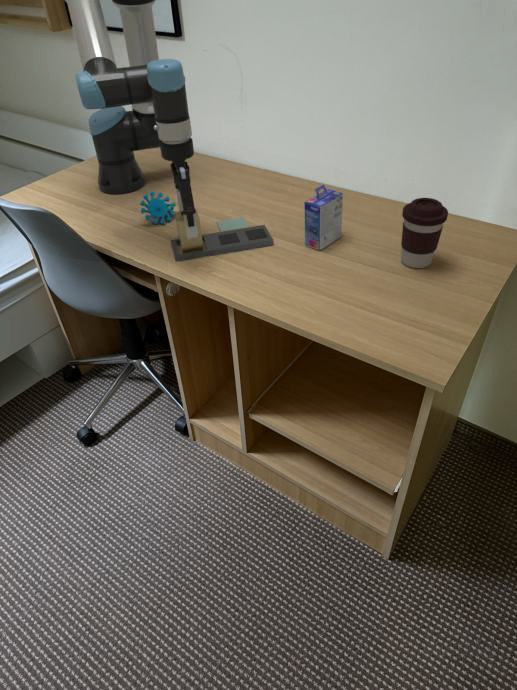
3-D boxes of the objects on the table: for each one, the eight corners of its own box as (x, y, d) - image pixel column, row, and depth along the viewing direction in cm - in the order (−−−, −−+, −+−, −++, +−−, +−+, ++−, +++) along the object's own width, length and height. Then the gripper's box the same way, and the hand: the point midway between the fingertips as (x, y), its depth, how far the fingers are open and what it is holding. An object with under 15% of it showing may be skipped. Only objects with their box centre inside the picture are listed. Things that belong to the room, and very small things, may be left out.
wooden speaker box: (180, 246, 132) (174, 211, 126) (200, 243, 133) (196, 207, 126) (183, 256, 128) (177, 220, 121) (204, 253, 129) (199, 217, 122)
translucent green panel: (216, 222, 142) (216, 221, 141) (243, 218, 143) (243, 217, 143) (221, 235, 136) (221, 234, 135) (250, 231, 137) (250, 229, 137)
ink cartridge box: (325, 230, 135) (327, 179, 126) (342, 236, 132) (345, 184, 123) (302, 245, 130) (303, 192, 120) (319, 251, 127) (322, 197, 118)
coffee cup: (429, 276, 116) (442, 217, 106) (389, 265, 120) (397, 208, 111) (442, 256, 122) (455, 199, 113) (403, 247, 127) (412, 191, 117)
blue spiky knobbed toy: (147, 225, 139) (136, 192, 139) (142, 233, 144) (131, 201, 144) (183, 219, 144) (172, 187, 144) (177, 227, 149) (167, 196, 150)
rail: (171, 244, 133) (170, 239, 132) (264, 229, 137) (264, 224, 136) (175, 261, 126) (174, 256, 125) (273, 245, 131) (273, 239, 130)
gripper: (154, 125, 121) (168, 207, 134) (164, 159, 102) (180, 250, 116) (184, 121, 122) (195, 203, 136) (200, 154, 103) (211, 245, 117)
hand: (188, 225), depth 126 cm, fingers open, 13 cm apart
